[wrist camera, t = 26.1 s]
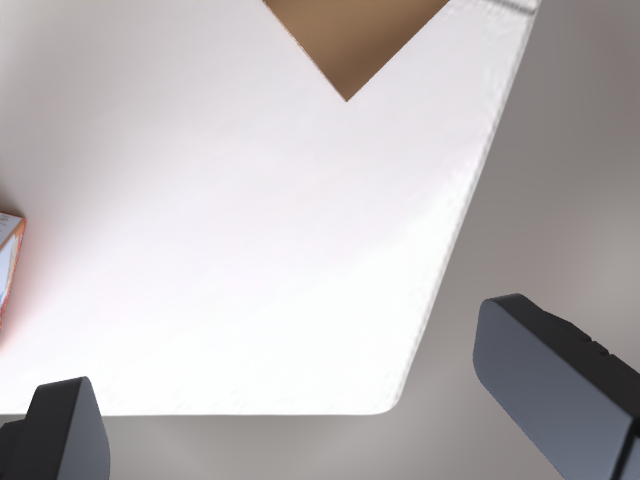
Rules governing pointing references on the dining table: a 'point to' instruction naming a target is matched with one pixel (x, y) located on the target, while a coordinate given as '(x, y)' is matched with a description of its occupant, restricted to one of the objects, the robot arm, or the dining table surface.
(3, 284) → the cracker box
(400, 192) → the dining table surface
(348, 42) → the desk mat
